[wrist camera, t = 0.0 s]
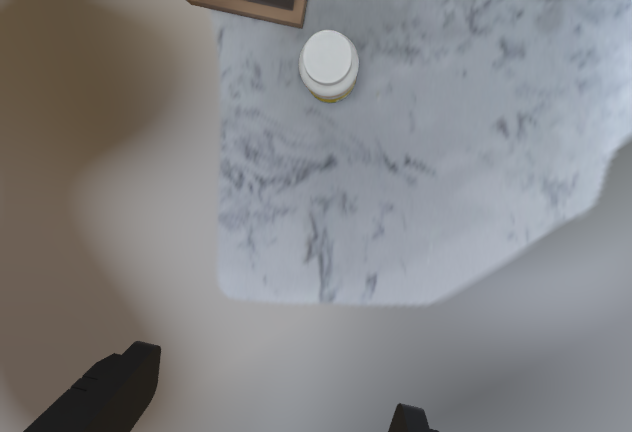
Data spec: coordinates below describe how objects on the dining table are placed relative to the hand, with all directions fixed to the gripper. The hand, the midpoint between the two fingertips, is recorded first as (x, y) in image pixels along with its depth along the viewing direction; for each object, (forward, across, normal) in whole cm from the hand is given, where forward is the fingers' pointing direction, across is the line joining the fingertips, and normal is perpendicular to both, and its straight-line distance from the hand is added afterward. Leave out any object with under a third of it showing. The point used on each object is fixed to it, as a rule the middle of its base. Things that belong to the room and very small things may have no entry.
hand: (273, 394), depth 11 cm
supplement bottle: (+30, +2, -14) cm, 33 cm away
